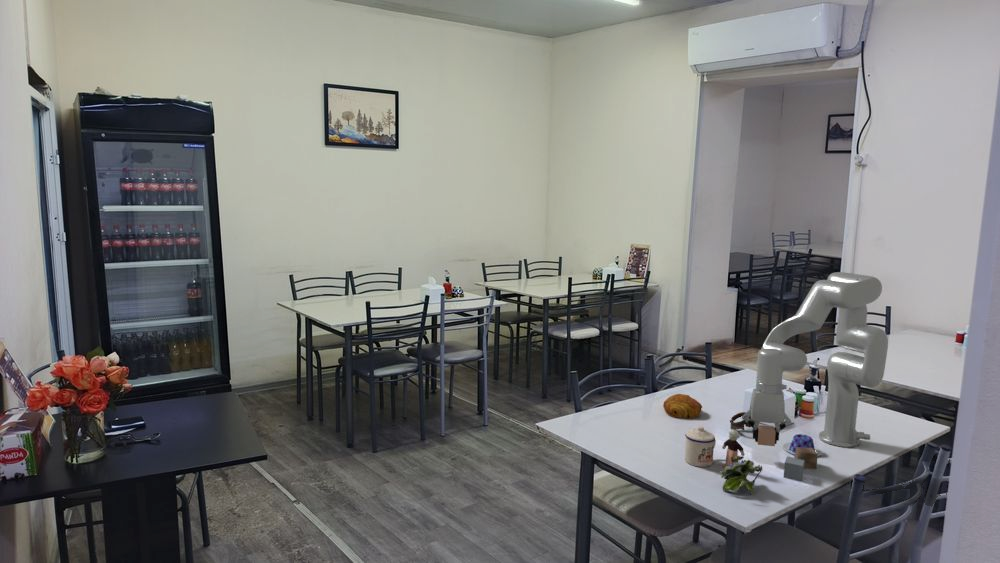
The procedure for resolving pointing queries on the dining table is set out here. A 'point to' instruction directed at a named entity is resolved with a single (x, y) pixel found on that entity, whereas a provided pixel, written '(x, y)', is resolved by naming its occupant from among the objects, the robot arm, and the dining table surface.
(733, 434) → the grandmother figurine
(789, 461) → the slate grey cube
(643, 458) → the dining table surface
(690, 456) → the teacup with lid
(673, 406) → the croissant
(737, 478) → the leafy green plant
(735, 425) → the brown curved piece
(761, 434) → the terracotta cube
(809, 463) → the walnut cube
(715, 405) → the dining table surface
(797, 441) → the purple patterned hat
